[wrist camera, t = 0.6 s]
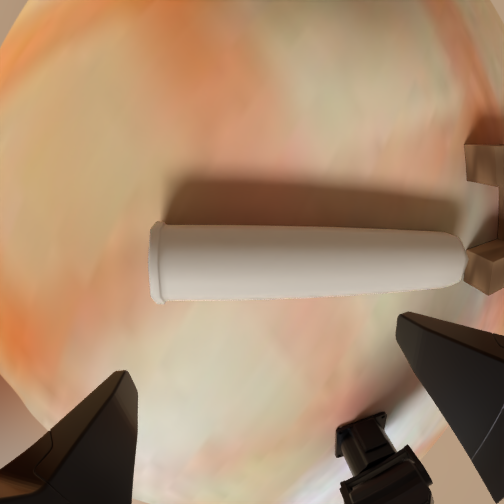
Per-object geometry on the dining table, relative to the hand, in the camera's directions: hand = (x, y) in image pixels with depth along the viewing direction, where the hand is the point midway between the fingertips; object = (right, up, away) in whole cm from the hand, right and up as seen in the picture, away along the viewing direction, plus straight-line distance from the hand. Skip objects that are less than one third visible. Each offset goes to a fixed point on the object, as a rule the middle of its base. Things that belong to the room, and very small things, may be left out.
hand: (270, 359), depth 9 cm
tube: (+5, +3, +14) cm, 16 cm away
